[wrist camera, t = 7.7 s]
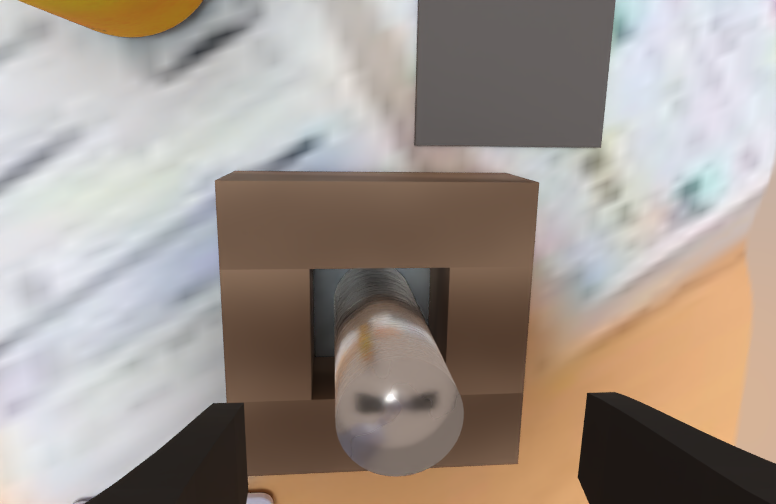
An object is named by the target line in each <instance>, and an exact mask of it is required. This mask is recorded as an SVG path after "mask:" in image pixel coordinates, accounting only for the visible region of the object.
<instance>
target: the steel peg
mask: <svg viewBox="0 0 776 504" xmlns="http://www.w3.org/2000/svg"><path fill="white" fill-rule="evenodd" d="M334 350H335V423H336V432H337V436H338V439H339V442H340V444H341V446H342V448H343V449H344V451H345V452H346V453H347V455H348V456H349V457H350V458H351V459H352V460H353V461H354V462H355V463H357V464H358V465H359V466H361V467H363V468H364V469H366V470H368V471H371V472H373V473H376V474H380V475H385V476H406V475H412V474H415V473H419V472H422V471H424V470H426V469H428V468H430V467H432V466H433V465H435V464H436V463H438V462H439V461H440V460H442V459H443V458H444V457H445V456H446V455H447V454H448V453H449V452H450V450H451V449H452V448H453V446H454V445H455V443H456V442H457V440H458V437H459V435H460V433H461V429H462V426H463V419H464V409H463V403H462V399H461V396H460V393H459V391H458V389H457V387H456V385H455V383H454V381H453V378H452V376H451V374H450V372H449V370H448V368H447V366H446V364H445V362H444V359H443V357H442V355H441V353H440V351H439V349H438V347H437V345H436V343H435V340H434V338H433V336H432V334H431V332H430V330H429V328H428V326H427V324H426V321H425V319H424V317H423V315H422V313H421V311H420V309H419V307H418V305H417V302H416V300H415V298H414V296H413V294H412V292H411V290H410V288H409V286H408V283H407V281H406V280H405V278H404V277H403V276H402V275H401V274H400V273H399V272H398V271H397V270H396V269H394V268H355V269H351V270H349V271H348V272H347V273H346V274H345V275H344V276H343V277H342V278H341V280H340V281H339V283H338V285H337V287H336V290H335V294H334Z"/></svg>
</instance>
